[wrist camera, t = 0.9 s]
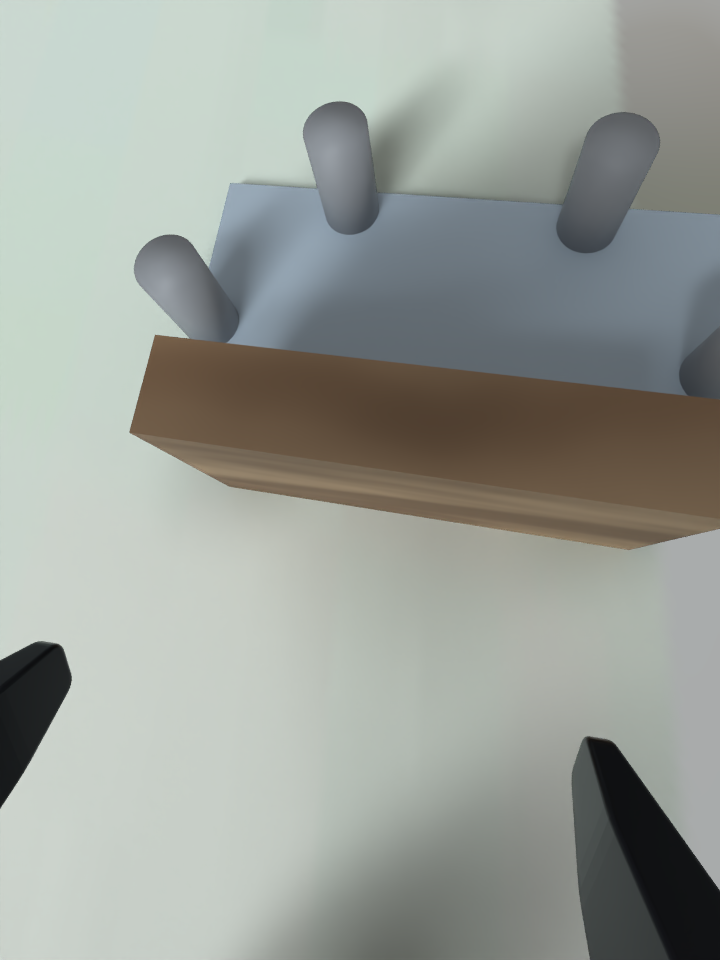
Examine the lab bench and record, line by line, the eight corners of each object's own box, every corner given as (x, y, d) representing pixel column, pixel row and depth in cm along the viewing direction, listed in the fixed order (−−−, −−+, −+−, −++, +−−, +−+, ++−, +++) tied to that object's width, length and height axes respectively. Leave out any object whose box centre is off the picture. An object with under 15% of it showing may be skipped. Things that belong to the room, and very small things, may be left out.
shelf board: (627, 550, 21) (745, 522, 13) (230, 487, 23) (129, 432, 15) (634, 473, 21) (751, 403, 13) (245, 419, 24) (155, 334, 16)
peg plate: (734, 460, 21) (827, 419, 16) (177, 388, 24) (114, 337, 19) (747, 222, 23) (834, 120, 18) (227, 188, 26) (181, 95, 21)
